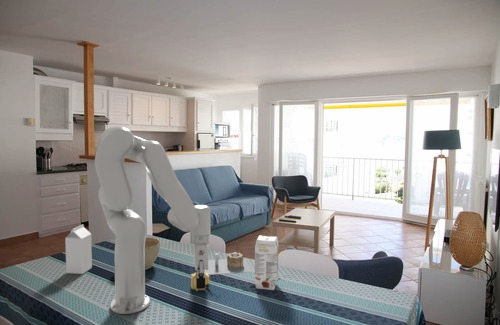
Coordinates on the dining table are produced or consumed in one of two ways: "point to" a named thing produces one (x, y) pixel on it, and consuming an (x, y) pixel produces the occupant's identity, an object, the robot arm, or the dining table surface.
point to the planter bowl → (151, 251)
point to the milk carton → (78, 250)
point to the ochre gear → (193, 281)
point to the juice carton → (266, 262)
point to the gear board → (225, 266)
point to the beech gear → (235, 260)
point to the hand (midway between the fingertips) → (200, 283)
